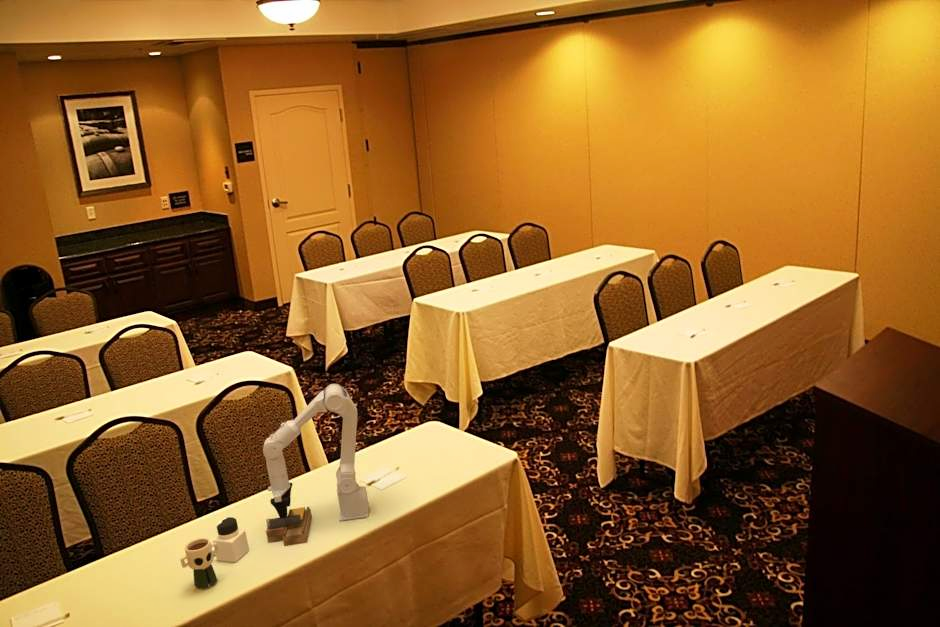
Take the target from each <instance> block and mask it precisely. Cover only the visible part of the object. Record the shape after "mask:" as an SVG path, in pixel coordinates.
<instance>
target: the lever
mask: <svg viewBox="0 0 940 627" xmlns="http://www.w3.org/2000/svg"><path fill="white" fill-rule="evenodd" d="M265 520H266V528H267V527H268V529H271V528H278V527H284V526H291V525H297V524H301V523H302V521H301V516H300V514H299V515H293V516H288V515H287V516H286V517H275V518H274V517H273V518H266V519H265Z"/></svg>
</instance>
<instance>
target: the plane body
mask: <svg viewBox="0 0 940 627" xmlns="http://www.w3.org/2000/svg"><path fill="white" fill-rule="evenodd" d="M291 509H292V508H290V509H289V511H288V512H287V516H290V513H291ZM305 510H306V514H305V518H304V523H303V525H298V526H292V527H289V526H284V527H278V528H271V529H268V527H267V526H266V530H265V534H266V538H267V543H274V542H275V543H276V542H281V541H283V546H285V547H286V546H293V545H297V544H298V545H299V544H304V543H308V539H309V538H308V537H309V533H310V528H311V525H312V524H311V523H312V518H313V516H312V510H311V508H310V506H307V507H306V509H305Z"/></svg>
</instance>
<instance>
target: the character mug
mask: <svg viewBox="0 0 940 627" xmlns="http://www.w3.org/2000/svg"><path fill="white" fill-rule="evenodd" d="M213 548H215V549H214V550H213ZM184 552H185V555H184V556H181V557H180V562H181V563H180V565H181V567H182V568H183V569H184V568H186V567H189V569H191V570H193V583H194V586H195V587H196V588H197V589H199V590H200V589H203V590H204V589H209V587H210V586H209V585H210V584H211V586H213V585H215V583H217V581H218V578H217V575H216V572H215V570H214V567H213V564H212V563H213V562H214V559H215V556H214V555H216V553H217V552H218V546H217V543H216V542H214V543H213V542H212V543H211V540H210V538H206V537H201V538H196V539H193V540H190V541H188V542H187V544H186V545H185V546H184ZM185 560H186V561H187V562H185Z"/></svg>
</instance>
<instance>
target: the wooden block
mask: <svg viewBox="0 0 940 627" xmlns="http://www.w3.org/2000/svg"><path fill="white" fill-rule="evenodd" d="M290 509H291V513H290V516H293V515H299V514H300V516H301V521H302V523H301V524H297V525H291V526H289V527H292V526H298V525H303V523H304V518H305V514H306V510H307V509H306V507H305V506H304V507H297V508H290Z"/></svg>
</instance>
